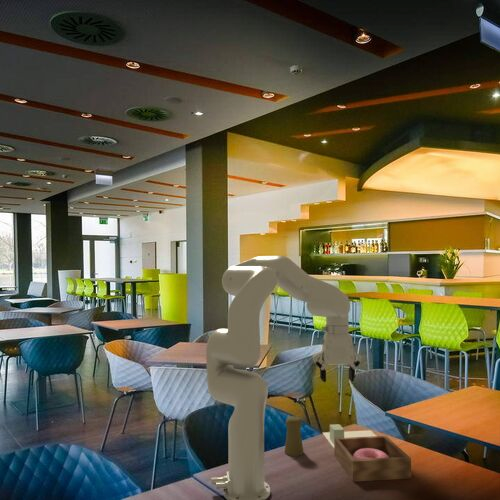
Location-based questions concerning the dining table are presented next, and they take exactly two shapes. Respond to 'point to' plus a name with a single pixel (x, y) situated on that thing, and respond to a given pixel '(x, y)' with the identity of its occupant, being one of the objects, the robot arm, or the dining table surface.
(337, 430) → the lid
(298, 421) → the cork
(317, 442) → the dining table surface
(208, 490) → the dining table surface
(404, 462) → the open wooden box
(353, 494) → the dining table surface
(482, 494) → the dining table surface
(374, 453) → the doughnut
